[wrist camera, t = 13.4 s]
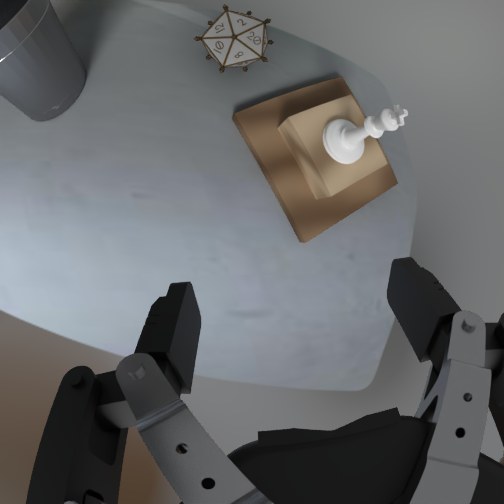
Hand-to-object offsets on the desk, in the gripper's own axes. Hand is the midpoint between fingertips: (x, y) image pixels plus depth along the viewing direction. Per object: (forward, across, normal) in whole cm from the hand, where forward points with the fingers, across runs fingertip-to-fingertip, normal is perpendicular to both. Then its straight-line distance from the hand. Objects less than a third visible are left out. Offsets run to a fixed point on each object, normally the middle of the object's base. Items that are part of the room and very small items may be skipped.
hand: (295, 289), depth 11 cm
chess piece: (+21, -8, -2) cm, 22 cm away
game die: (+28, +2, -14) cm, 31 cm away
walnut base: (+25, -7, 0) cm, 26 cm away
